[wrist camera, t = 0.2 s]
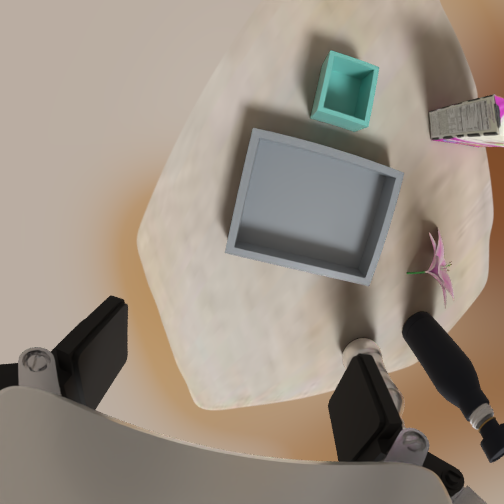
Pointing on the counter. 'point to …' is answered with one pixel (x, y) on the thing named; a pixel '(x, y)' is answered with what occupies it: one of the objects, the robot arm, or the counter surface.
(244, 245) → the gray crate
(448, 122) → the candy bar box
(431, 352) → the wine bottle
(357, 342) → the silver ribbed bottle
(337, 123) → the teal crate
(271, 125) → the counter surface
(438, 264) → the lily
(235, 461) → the robot arm
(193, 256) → the counter surface
